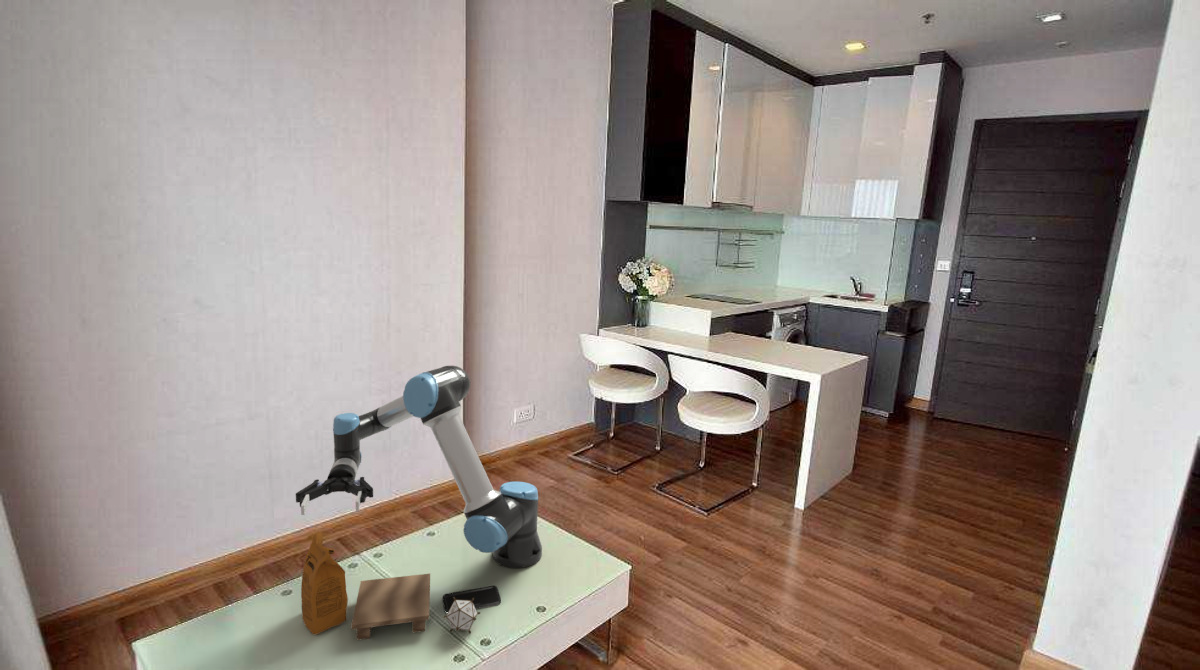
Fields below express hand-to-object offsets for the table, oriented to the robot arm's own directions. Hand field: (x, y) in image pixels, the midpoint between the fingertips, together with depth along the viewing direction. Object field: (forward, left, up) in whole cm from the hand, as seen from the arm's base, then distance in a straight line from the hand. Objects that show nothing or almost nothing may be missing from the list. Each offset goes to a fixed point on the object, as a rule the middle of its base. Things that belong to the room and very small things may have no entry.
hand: (330, 508), depth 158 cm
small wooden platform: (-17, +16, -24) cm, 33 cm away
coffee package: (0, +14, -24) cm, 27 cm away
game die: (-34, +25, -24) cm, 48 cm away
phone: (-37, +14, -24) cm, 46 cm away
